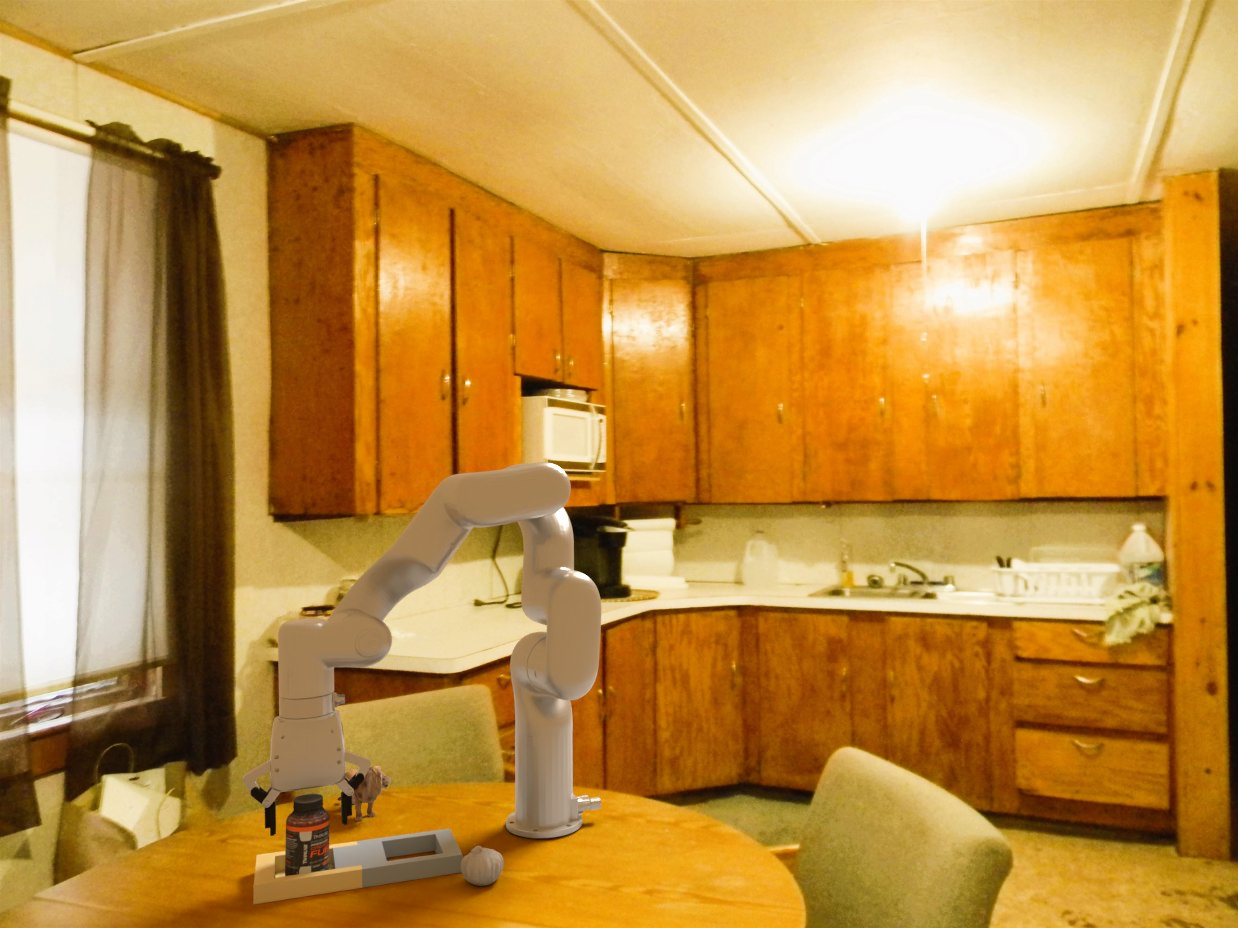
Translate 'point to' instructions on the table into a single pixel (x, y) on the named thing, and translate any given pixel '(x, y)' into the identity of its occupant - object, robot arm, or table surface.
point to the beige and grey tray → (360, 866)
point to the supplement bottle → (307, 836)
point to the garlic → (482, 866)
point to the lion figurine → (368, 789)
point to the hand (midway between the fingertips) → (309, 826)
